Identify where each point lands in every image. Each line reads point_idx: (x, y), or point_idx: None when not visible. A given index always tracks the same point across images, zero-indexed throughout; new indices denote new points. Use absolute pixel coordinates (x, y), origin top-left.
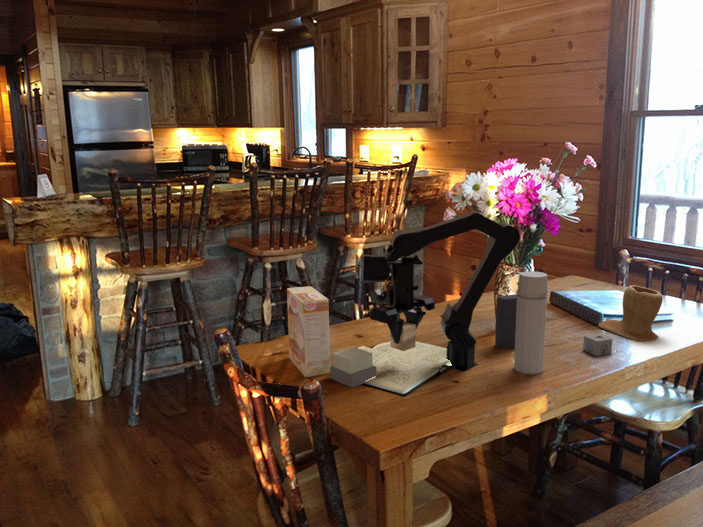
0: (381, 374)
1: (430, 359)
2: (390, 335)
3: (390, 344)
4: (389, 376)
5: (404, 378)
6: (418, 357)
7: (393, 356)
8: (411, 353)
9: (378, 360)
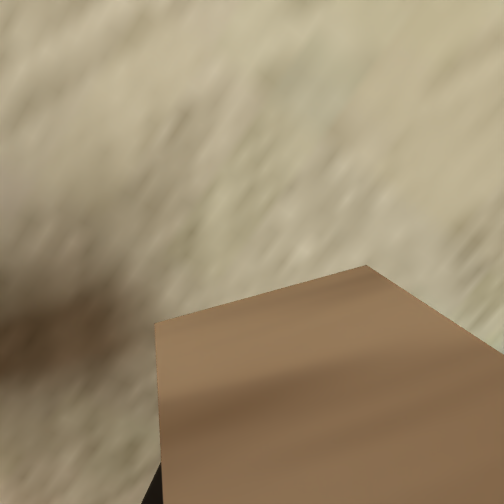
0: (3, 334)
1: (490, 256)
2: (160, 420)
3: (156, 339)
4: (43, 394)
5: (124, 464)
6: (460, 177)
7: (329, 32)
8: (484, 68)
9: (156, 33)
